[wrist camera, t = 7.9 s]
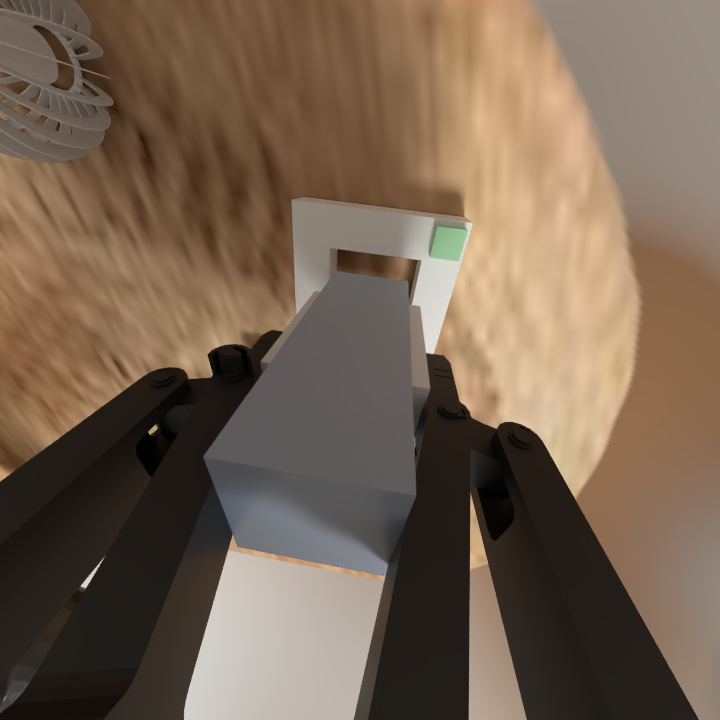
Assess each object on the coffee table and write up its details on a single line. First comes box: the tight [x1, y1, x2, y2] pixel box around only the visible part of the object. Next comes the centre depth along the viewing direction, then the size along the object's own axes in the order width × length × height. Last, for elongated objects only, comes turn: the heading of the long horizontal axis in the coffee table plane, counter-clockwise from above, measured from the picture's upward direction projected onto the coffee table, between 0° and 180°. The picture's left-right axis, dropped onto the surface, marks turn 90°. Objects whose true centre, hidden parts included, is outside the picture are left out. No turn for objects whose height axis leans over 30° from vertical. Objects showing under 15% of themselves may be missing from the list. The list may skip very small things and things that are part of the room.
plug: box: [203, 271, 416, 576], centre depth 11 cm, size 4×4×12 cm
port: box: [292, 197, 473, 354], centre depth 18 cm, size 10×10×3 cm
